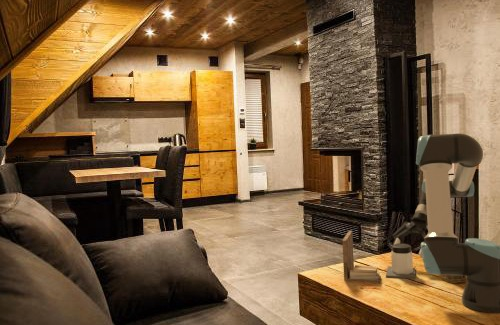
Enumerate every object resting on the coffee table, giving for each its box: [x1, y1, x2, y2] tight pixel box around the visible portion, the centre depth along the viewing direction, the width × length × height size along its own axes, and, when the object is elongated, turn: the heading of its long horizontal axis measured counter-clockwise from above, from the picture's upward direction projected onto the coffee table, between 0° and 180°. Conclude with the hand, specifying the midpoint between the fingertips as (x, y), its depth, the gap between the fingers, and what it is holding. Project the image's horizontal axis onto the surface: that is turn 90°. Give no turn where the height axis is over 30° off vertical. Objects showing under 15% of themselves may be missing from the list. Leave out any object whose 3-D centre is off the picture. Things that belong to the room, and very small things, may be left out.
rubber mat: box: [385, 265, 416, 280], centre depth 194 cm, size 14×12×1 cm
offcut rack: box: [341, 230, 382, 284], centre depth 194 cm, size 20×15×18 cm
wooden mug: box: [442, 275, 467, 284], centre depth 179 cm, size 9×14×18 cm, turn 15°
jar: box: [390, 243, 414, 275], centre depth 193 cm, size 9×8×12 cm
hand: (406, 253), depth 198 cm, fingers open, 13 cm apart
